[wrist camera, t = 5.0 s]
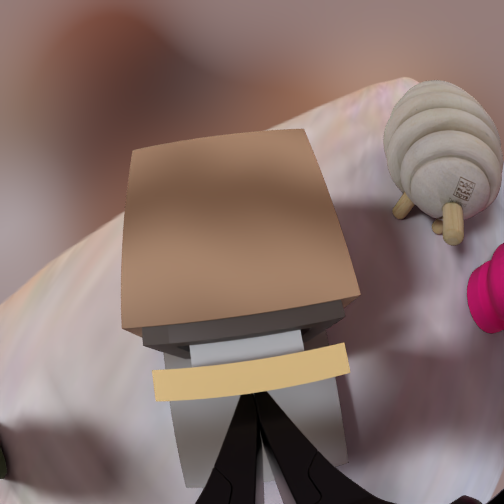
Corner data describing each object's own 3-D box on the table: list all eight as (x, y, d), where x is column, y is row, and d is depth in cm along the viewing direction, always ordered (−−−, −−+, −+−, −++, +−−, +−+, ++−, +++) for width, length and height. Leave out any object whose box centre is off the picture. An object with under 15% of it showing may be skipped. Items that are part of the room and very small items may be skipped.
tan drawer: (306, 375, 14) (350, 372, 8) (196, 391, 14) (155, 401, 7) (271, 203, 19) (280, 120, 12) (180, 215, 18) (153, 136, 12)
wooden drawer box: (343, 458, 14) (417, 509, 5) (189, 482, 13) (142, 554, 5) (293, 214, 21) (317, 115, 13) (161, 231, 21) (116, 140, 12)
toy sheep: (445, 152, 26) (488, 82, 16) (465, 291, 19) (558, 230, 9) (364, 122, 27) (394, 36, 17) (359, 263, 20) (439, 162, 10)
